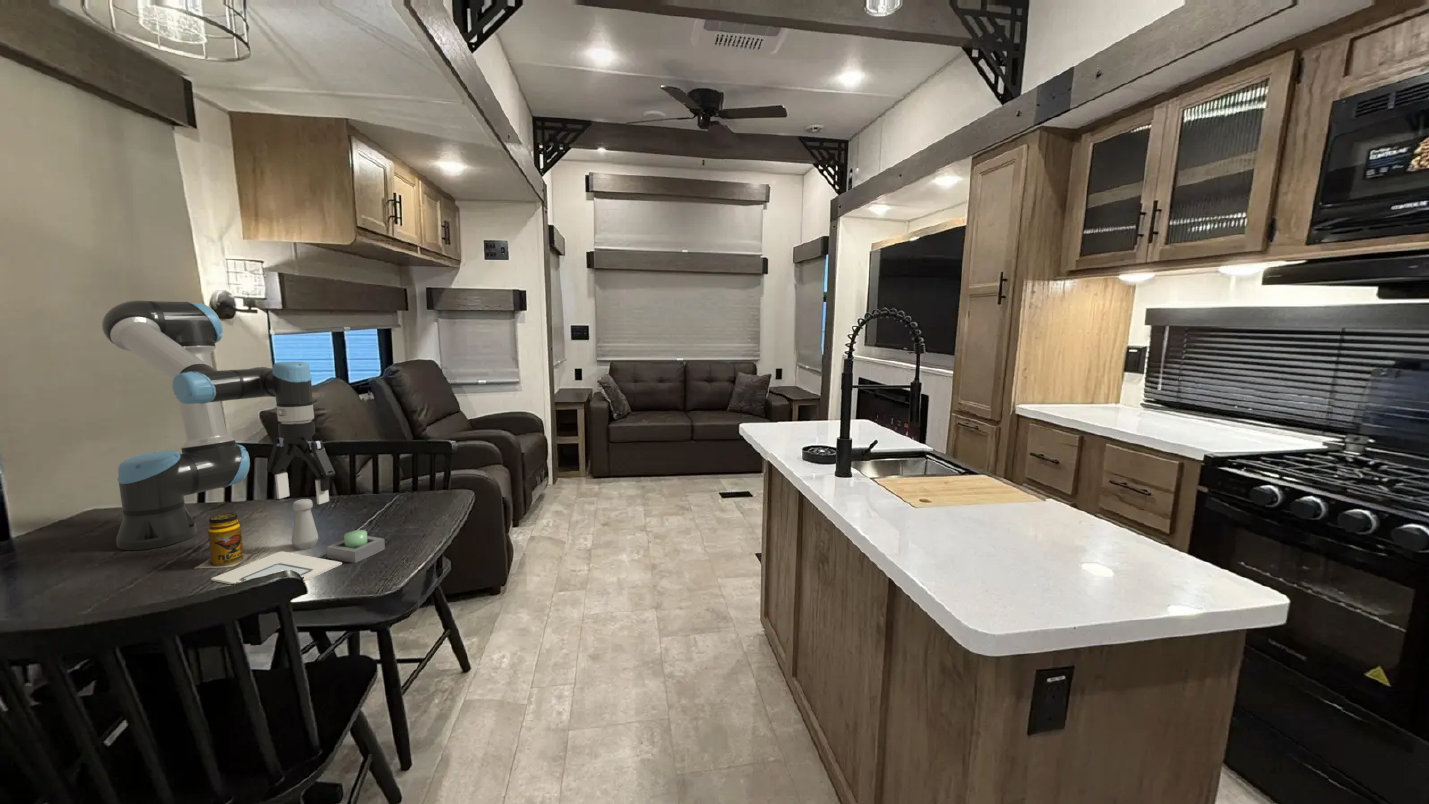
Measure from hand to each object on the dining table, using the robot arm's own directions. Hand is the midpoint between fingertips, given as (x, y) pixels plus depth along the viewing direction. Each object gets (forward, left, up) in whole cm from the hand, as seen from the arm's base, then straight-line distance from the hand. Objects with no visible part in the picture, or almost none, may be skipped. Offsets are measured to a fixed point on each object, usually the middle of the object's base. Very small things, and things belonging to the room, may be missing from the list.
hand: (303, 500), depth 144 cm
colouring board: (+8, -13, -13) cm, 20 cm away
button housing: (+16, +1, -13) cm, 21 cm away
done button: (+16, +1, -12) cm, 20 cm away
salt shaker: (0, 0, -13) cm, 13 cm away
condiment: (-10, -13, -13) cm, 21 cm away
